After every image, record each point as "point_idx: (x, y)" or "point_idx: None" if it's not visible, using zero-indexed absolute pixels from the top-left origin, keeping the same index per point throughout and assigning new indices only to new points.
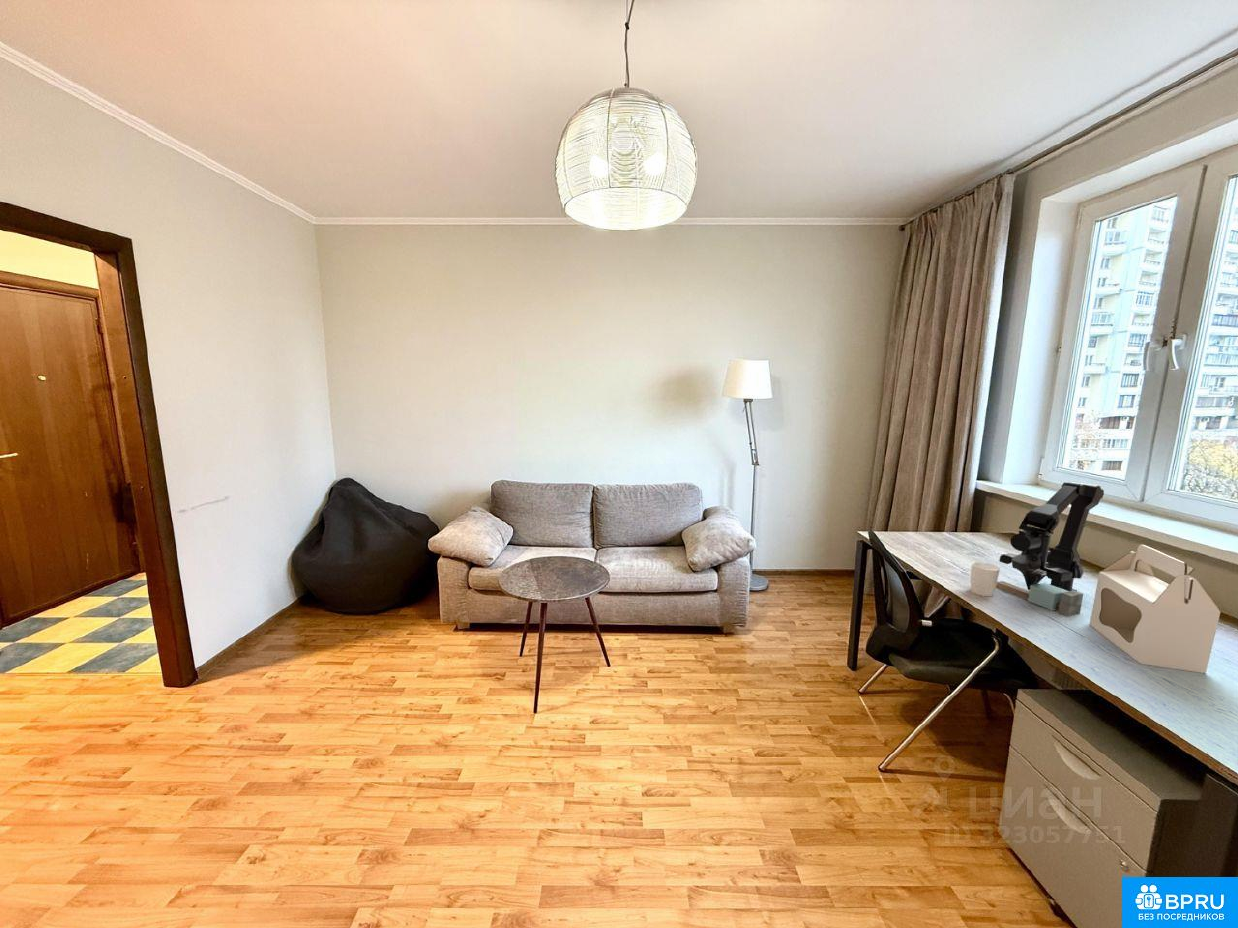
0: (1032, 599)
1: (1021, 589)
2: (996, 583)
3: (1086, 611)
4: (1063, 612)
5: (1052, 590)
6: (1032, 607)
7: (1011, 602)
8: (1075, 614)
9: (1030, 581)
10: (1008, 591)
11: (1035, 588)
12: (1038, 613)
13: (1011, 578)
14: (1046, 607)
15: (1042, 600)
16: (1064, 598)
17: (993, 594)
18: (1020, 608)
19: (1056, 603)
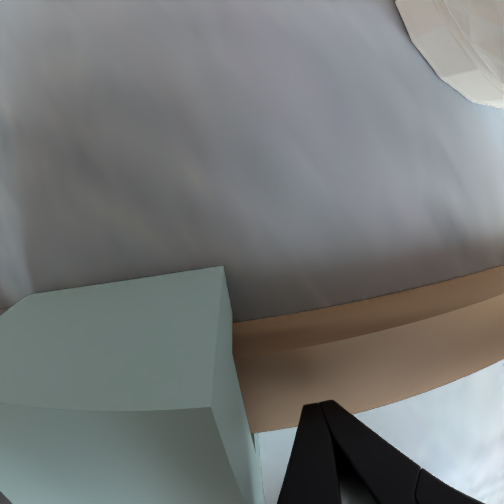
0: (177, 286)
1: (393, 372)
2: (500, 8)
3: None
4: None
5: (18, 473)
6: (97, 175)
7: (239, 53)
8: None
9: (332, 499)
10: (444, 283)
11: (116, 390)
12: (4, 120)
13: (495, 445)
14: (59, 292)
15: (69, 313)
16: None
17: (412, 30)
18: (104, 29)
19: None
